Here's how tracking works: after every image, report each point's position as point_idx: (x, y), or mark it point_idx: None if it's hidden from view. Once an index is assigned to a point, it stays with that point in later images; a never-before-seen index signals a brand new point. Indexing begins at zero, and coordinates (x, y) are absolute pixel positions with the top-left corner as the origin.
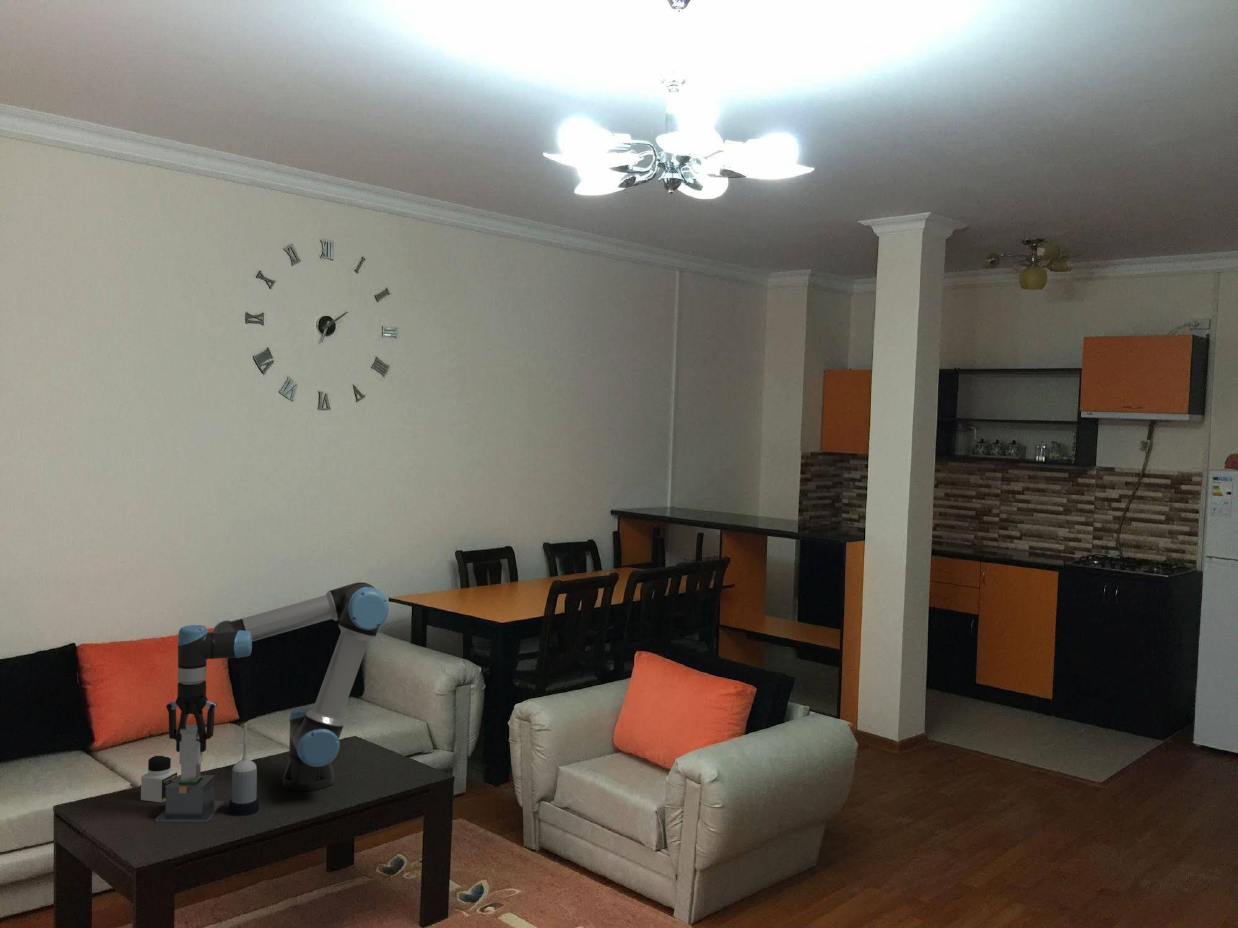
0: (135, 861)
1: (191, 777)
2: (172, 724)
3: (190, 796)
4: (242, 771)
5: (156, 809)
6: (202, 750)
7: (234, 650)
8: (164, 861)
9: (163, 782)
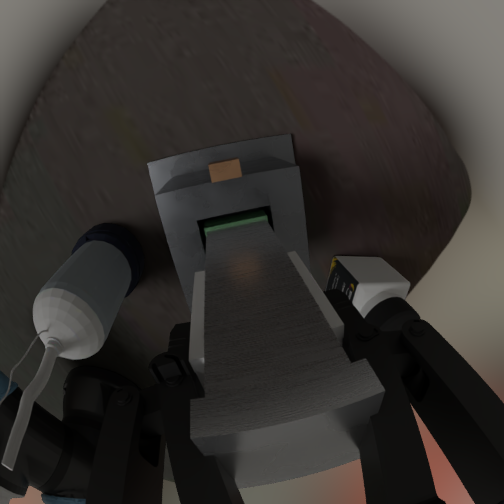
0: None
1: (223, 231)
2: (467, 400)
3: (202, 178)
4: (44, 290)
5: (327, 213)
6: (183, 328)
7: None
8: None
9: (352, 282)
